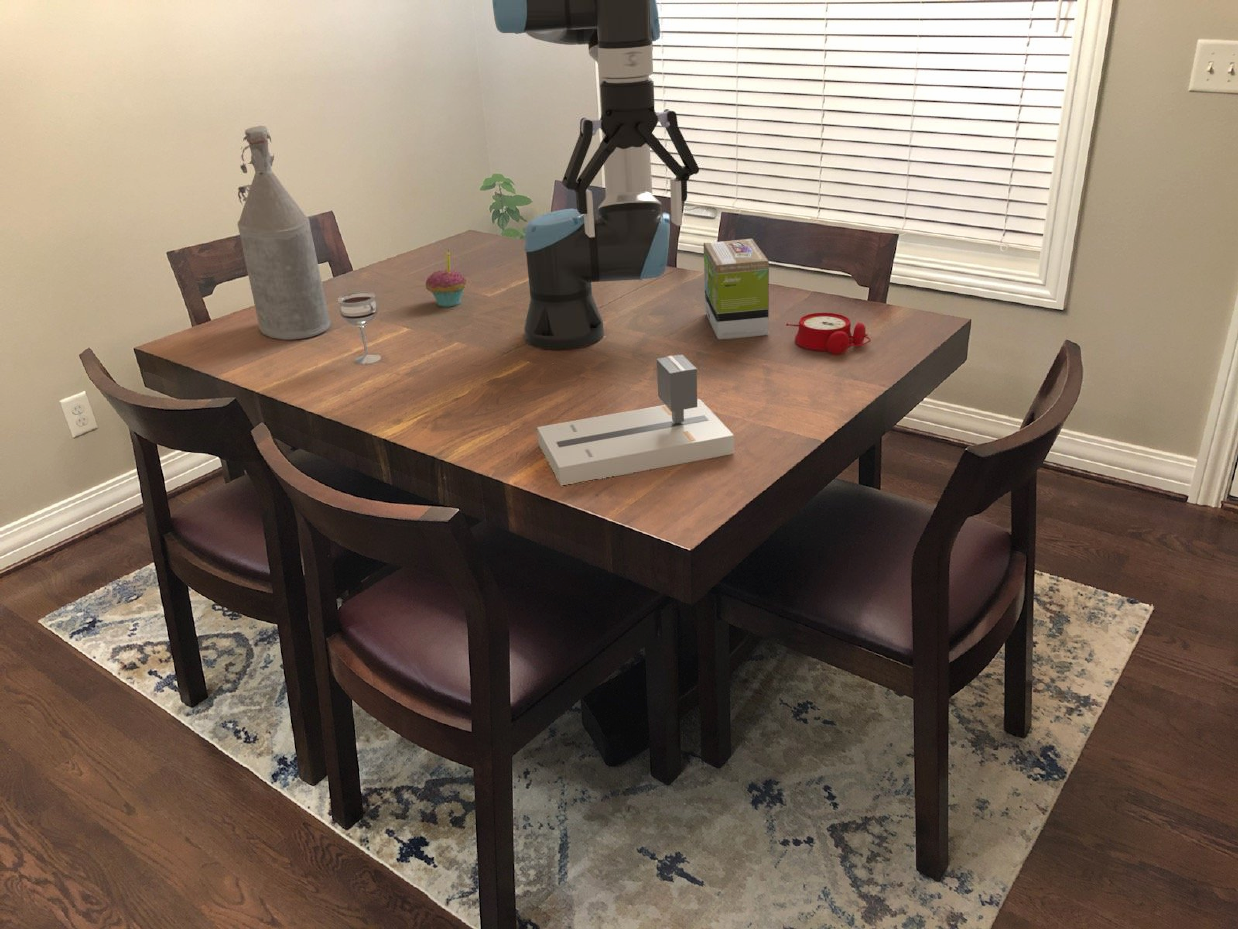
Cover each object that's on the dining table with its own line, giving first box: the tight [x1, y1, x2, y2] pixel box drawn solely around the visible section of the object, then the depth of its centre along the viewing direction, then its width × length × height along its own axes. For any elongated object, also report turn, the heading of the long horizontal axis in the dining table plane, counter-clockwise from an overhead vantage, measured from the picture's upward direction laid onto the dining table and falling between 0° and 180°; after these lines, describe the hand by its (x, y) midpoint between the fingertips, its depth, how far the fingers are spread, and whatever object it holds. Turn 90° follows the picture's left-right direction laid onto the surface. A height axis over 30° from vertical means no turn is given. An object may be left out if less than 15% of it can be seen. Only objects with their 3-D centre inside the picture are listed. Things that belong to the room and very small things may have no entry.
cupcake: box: [425, 248, 467, 308], centre depth 214 cm, size 9×8×12 cm
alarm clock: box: [785, 312, 871, 355], centre depth 183 cm, size 10×6×15 cm
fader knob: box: [656, 354, 698, 423], centre depth 149 cm, size 6×4×9 cm, turn 17°
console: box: [536, 398, 735, 486], centre depth 150 cm, size 14×26×3 cm, turn 107°
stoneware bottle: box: [236, 125, 331, 341], centre depth 198 cm, size 13×17×40 cm
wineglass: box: [337, 291, 382, 365], centre depth 187 cm, size 7×7×12 cm
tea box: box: [703, 238, 770, 340], centre depth 192 cm, size 15×10×15 cm
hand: (633, 229), depth 152 cm, fingers open, 13 cm apart
